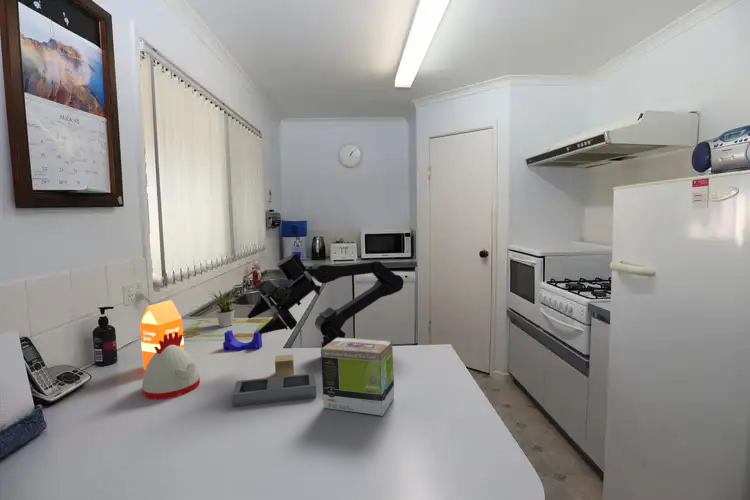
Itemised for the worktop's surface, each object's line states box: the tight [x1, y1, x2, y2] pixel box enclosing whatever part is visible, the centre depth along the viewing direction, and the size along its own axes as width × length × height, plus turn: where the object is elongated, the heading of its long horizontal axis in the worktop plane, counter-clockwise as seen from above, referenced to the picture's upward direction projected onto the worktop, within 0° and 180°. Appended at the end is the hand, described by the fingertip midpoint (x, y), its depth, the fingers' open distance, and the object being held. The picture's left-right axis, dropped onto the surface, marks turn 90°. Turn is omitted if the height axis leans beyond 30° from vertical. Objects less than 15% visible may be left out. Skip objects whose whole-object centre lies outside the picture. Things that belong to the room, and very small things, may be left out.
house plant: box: [207, 289, 240, 328], centre depth 170 cm, size 14×14×16 cm
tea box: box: [320, 337, 395, 417], centre depth 97 cm, size 15×10×15 cm, turn 71°
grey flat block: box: [231, 372, 317, 408], centre depth 103 cm, size 20×8×3 cm, turn 101°
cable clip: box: [222, 329, 263, 352], centre depth 140 cm, size 12×4×6 cm, turn 86°
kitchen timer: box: [141, 332, 201, 400], centre depth 109 cm, size 14×14×15 cm
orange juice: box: [139, 299, 185, 371], centre depth 125 cm, size 8×9×20 cm
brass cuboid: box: [274, 353, 295, 377], centre depth 116 cm, size 5×5×5 cm
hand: (253, 325), depth 119 cm, fingers open, 9 cm apart
